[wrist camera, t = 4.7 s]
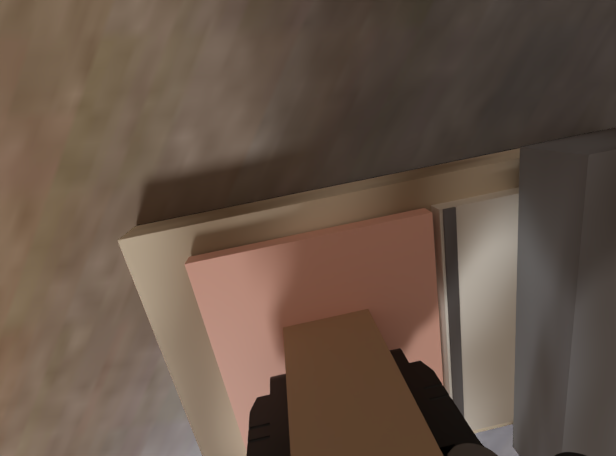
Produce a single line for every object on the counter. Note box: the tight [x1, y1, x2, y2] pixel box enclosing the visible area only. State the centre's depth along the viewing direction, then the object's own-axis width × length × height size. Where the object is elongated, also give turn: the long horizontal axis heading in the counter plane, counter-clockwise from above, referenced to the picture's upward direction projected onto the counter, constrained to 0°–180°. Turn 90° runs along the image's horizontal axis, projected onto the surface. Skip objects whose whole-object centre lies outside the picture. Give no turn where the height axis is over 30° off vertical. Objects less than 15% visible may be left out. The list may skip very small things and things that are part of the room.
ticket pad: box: [118, 128, 616, 456], centre depth 12 cm, size 18×13×4 cm
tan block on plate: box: [185, 208, 443, 456], centre depth 10 cm, size 8×10×7 cm
